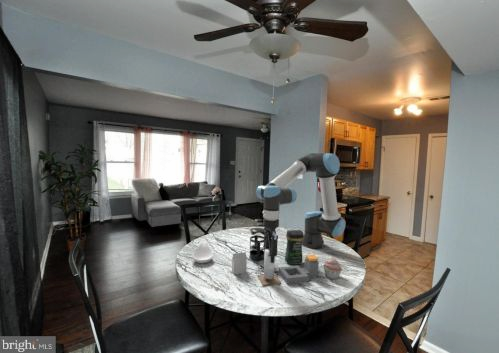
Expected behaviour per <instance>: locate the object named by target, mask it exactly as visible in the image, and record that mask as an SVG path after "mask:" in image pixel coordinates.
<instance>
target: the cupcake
mask: <svg viewBox="0 0 499 353" xmlns="http://www.w3.org/2000/svg"><path fill="white" fill-rule="evenodd" d="M322 266H323V267H322V268H323V269H324V275H325V277H326V278H328V279H331V280H338V279H339V277H340V275H341V272H342V271H343V269H342V267H341V263H340V262H339V261H338V260H337V259H336V258H335V257H332V256H331V258H329V259H327V260H326V261H324V263H323V265H322Z"/></svg>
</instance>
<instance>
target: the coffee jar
mask: <svg viewBox="0 0 499 353" xmlns="http://www.w3.org/2000/svg"><path fill="white" fill-rule="evenodd" d="M303 235H304V231H302V230H301V229H287V231H286V235H285V237H286V249H285V256H284V260H285V262H286V263H287V264H289V265H301V264H302V263H303V245H302V241H303V239H304V236H303Z"/></svg>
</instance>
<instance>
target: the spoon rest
mask: <svg viewBox="0 0 499 353" xmlns="http://www.w3.org/2000/svg"><path fill="white" fill-rule="evenodd" d="M191 258H192V259H193V260H194V262H196V263H198V264H206V263H208V262H210V261H211V260H213V258H214V252H213V251H212V249H211V248H210V246H209V245H208V242H207V240H205V241H202V240H201V241H200V243H199V245H198V246H197V247H196V248H195V250H194V252H193V253H192V255H191Z"/></svg>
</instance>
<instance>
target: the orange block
mask: <svg viewBox="0 0 499 353" xmlns="http://www.w3.org/2000/svg"><path fill="white" fill-rule="evenodd" d="M305 258H307V259H308V261H310V262H316V261H318V262H319V257H317V256H316V255H315V254H306V255H305V257H304V259H305Z"/></svg>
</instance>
